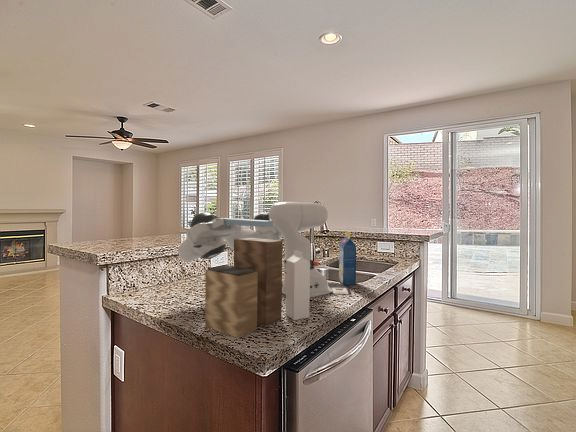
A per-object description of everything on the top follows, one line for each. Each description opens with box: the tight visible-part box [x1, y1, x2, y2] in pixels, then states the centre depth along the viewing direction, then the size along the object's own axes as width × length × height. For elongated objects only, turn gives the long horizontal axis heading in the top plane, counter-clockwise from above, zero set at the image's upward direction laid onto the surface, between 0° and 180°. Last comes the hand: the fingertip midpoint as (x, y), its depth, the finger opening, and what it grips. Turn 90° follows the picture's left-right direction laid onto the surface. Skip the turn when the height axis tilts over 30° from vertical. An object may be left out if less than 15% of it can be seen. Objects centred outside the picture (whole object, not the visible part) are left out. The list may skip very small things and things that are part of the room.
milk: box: [285, 250, 311, 321], centre depth 106 cm, size 6×6×22 cm
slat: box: [216, 217, 273, 228], centre depth 106 cm, size 22×4×2 cm, turn 55°
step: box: [204, 264, 258, 339], centre depth 95 cm, size 14×8×18 cm, turn 55°
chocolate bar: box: [327, 282, 353, 295], centre depth 142 cm, size 9×1×18 cm
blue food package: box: [338, 231, 357, 285], centre depth 153 cm, size 6×12×25 cm, turn 0°
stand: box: [233, 238, 283, 328], centre depth 103 cm, size 14×8×26 cm, turn 55°
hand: (230, 220), depth 110 cm, fingers closed on slat, 4 cm apart
